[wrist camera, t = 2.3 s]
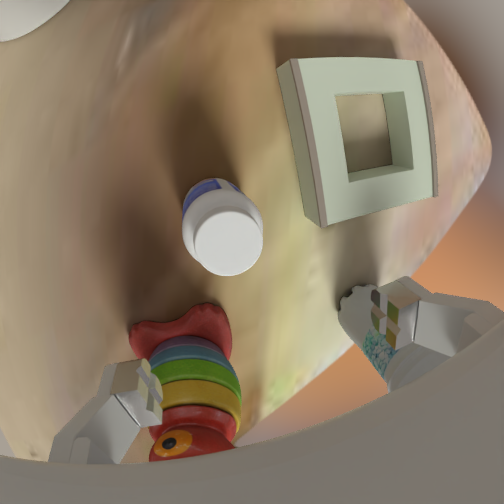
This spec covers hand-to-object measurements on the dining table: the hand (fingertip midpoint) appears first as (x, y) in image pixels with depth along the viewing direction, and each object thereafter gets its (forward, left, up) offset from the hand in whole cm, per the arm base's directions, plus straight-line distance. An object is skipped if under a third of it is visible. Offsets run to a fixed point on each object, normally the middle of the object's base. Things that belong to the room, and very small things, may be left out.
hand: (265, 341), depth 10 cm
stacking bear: (+14, -7, -18) cm, 24 cm away
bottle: (+15, +13, -18) cm, 26 cm away
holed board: (-4, +15, -18) cm, 24 cm away
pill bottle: (0, 0, -18) cm, 18 cm away
